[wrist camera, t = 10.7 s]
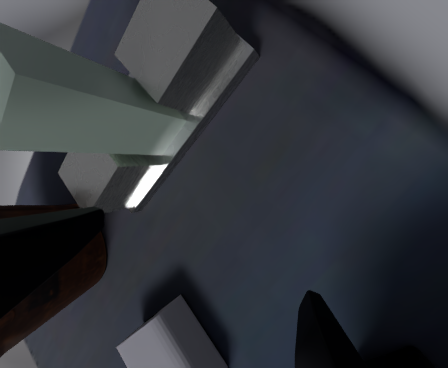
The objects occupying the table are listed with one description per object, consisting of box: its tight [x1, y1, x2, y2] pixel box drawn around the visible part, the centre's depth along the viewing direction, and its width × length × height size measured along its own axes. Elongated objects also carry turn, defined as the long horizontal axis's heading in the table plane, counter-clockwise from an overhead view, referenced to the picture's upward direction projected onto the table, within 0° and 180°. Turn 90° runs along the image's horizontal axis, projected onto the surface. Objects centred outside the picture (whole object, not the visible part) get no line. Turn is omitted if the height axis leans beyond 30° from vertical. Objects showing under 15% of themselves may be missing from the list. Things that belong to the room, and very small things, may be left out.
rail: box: [58, 0, 260, 213], centre depth 20 cm, size 8×21×6 cm, turn 135°
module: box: [0, 23, 187, 155], centre depth 16 cm, size 5×4×12 cm
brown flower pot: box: [0, 204, 106, 357], centre depth 25 cm, size 18×20×18 cm
